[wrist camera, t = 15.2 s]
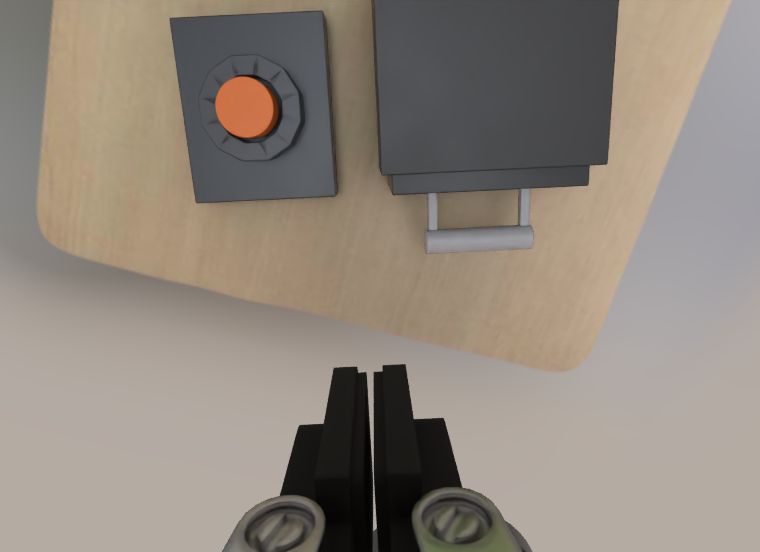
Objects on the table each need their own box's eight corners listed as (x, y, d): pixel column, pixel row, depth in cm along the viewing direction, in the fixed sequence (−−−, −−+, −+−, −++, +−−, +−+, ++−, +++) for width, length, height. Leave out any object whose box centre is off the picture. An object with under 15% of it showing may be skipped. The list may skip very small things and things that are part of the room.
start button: (281, 136, 32) (276, 136, 30) (227, 139, 32) (219, 139, 30) (276, 78, 31) (270, 74, 30) (219, 81, 31) (211, 77, 30)
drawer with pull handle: (541, 235, 37) (584, 257, 29) (390, 242, 37) (395, 267, 29) (551, -29, 32) (605, -83, 25) (379, -21, 32) (381, -73, 25)
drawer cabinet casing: (547, 160, 36) (607, 164, 27) (379, 168, 36) (381, 175, 27) (556, -64, 33) (629, -148, 23) (368, -55, 33) (367, -135, 23)
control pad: (338, 193, 37) (333, 199, 33) (205, 200, 37) (186, 206, 33) (326, 18, 34) (319, 2, 30) (181, 26, 34) (156, 10, 30)
